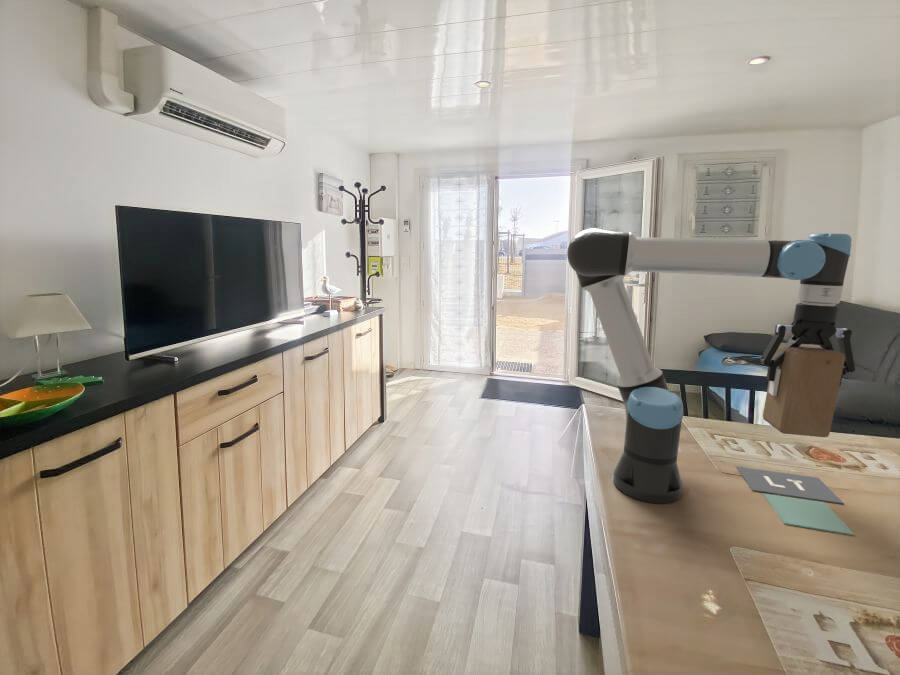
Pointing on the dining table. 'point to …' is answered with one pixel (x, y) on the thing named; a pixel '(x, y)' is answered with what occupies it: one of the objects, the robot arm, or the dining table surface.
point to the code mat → (788, 485)
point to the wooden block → (805, 391)
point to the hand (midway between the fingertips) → (799, 396)
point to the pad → (807, 514)
